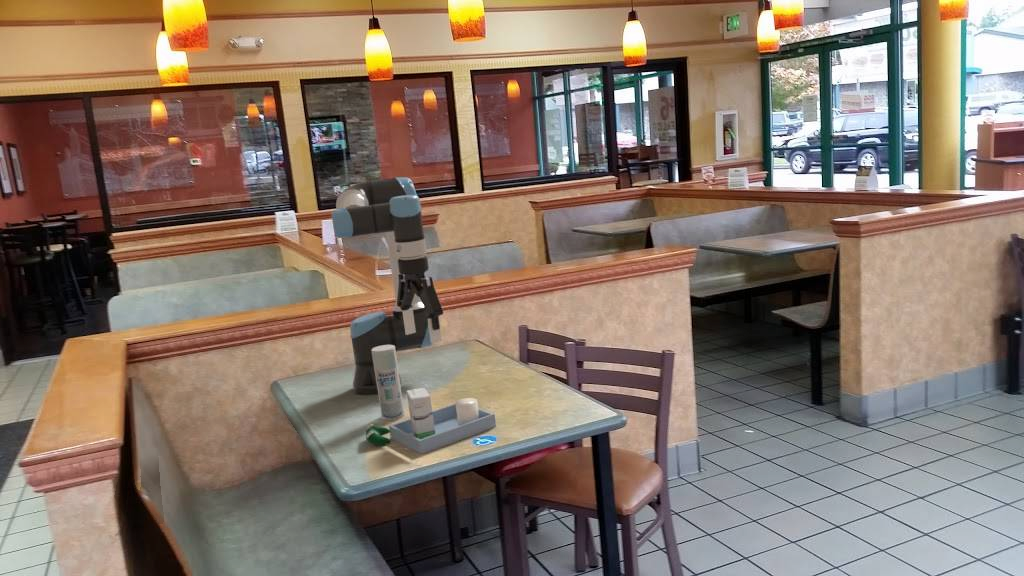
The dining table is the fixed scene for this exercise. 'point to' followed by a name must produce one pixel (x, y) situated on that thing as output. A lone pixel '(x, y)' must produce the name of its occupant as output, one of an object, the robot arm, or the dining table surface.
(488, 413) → the tote
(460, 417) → the white smooth rounded part
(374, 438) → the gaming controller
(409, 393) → the ink box
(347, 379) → the dining table surface
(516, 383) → the dining table surface
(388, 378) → the spray can
